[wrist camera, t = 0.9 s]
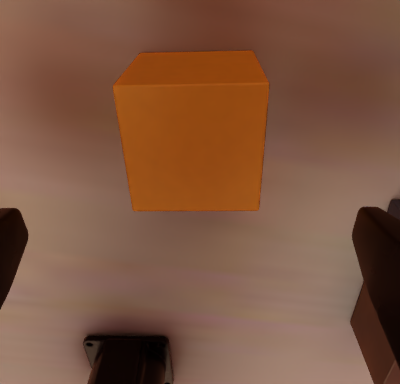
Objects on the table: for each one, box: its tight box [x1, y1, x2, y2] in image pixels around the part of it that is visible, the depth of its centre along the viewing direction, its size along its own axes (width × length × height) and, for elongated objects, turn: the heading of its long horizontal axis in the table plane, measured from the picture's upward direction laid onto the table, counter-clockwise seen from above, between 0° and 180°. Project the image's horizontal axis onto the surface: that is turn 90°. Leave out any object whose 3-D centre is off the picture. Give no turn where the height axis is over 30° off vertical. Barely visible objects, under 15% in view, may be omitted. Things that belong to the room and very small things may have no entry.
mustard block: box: [113, 50, 269, 211], centre depth 14 cm, size 5×5×5 cm
